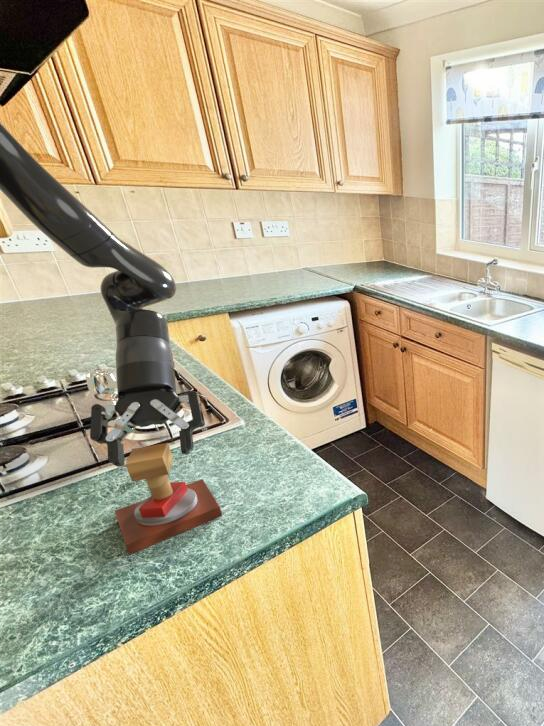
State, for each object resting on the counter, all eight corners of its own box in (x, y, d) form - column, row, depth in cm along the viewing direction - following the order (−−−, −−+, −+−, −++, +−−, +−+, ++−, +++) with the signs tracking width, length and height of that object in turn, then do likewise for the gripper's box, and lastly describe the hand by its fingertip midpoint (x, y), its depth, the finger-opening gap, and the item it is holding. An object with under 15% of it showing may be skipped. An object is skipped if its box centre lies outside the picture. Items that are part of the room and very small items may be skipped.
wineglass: (126, 427, 92) (107, 378, 87) (96, 428, 91) (75, 378, 86) (142, 414, 97) (125, 367, 92) (114, 415, 96) (95, 367, 91)
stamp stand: (129, 554, 62) (125, 545, 61) (118, 519, 68) (114, 510, 67) (222, 515, 70) (219, 506, 69) (205, 487, 76) (202, 478, 75)
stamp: (180, 524, 65) (160, 467, 61) (123, 527, 64) (98, 469, 60) (207, 491, 73) (190, 438, 68) (155, 493, 71) (135, 439, 67)
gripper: (79, 365, 65) (83, 465, 61) (190, 354, 72) (200, 444, 68) (101, 382, 72) (106, 474, 68) (201, 371, 78) (211, 454, 74)
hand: (153, 459), depth 68 cm, fingers open, 8 cm apart
